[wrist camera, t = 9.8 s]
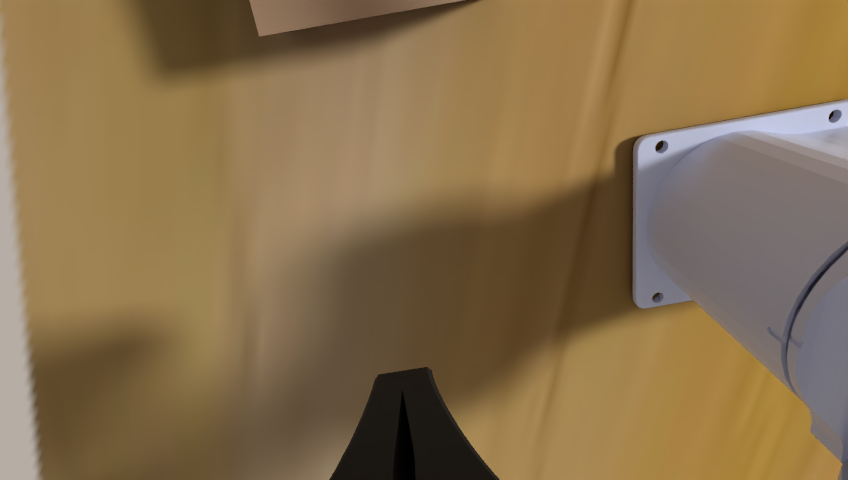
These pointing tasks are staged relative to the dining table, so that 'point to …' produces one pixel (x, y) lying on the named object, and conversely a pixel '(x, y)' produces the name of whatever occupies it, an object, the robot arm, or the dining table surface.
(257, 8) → the shelf
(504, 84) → the dining table surface
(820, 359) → the robot arm
